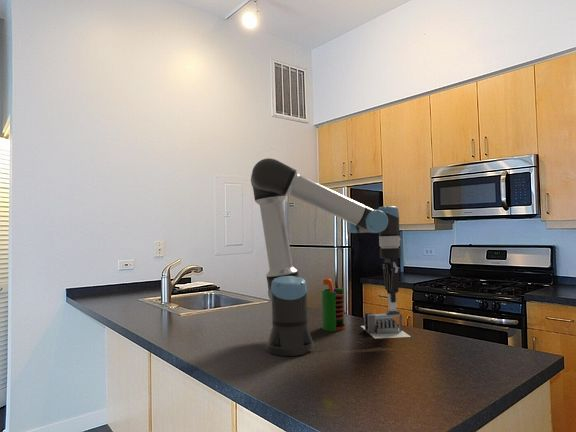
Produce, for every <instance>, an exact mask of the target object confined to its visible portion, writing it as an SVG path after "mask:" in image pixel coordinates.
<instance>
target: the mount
mask: <svg viewBox="0 0 576 432" xmlns="http://www.w3.org/2000/svg"><path fill="white" fill-rule="evenodd" d="M367 314H370V315H368V318H367V316H366V315H367ZM363 319H364V326H365V330H364V331H365V332H367V331H368V332H367V333H368V334H369V335H370V334H371V333H375V315H373V314H372V313H371V312H364V318H363ZM398 328H399V330H400V331H403V315H402V313H400V316H399V317H398Z"/></svg>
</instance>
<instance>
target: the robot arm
mask: <svg viewBox="0 0 576 432" xmlns="http://www.w3.org/2000/svg"><path fill="white" fill-rule="evenodd" d="M250 183H251V187H252V190H253V197H254V198H253V199H254V203H256V204H257V205H259V208H260V215H261V222H262V227H263V234H264V235H263V236H264V241H265V248H266V254H267V255H266V256H267V262H268V268H269V270H268V272H267V274H266V282H267V289H268V291H267V293H268V298H269V300H270V302H271V324H272V325H271V329H270V334H269V337H268V341H267V352H269V353H270V354H272V355H275V356H281V357H282V356H283V357H293V356H295V357H296V356H303V355H306V354H310V353H312V349H313V348H314V341H313V338H312V336H311V332H310V329H309V326H308V303H307V302H308V300H307V299H308V298H307V292H308V287H307V281H306V280H305V279H304V278H303V277H299V270H298V269H297V268H295V266H294V265H293V259H292V253H291V251H292V250H291V246H290V238H289V232H288V227H287V221H286V213H285V208H284V200H285V199H286V198H287V196H291V197H294V198H295V199H296V200H297V199H298V200H300V201H301V202H304V203H306V204H308V205H311V207H315V208H317V209H320V210H321V211H324V212H326V213H328V214H331V216H332V215H333V216H335V217H337V218H339V219H341V220H344V221H346V228H347V231H348V232H349V233H351V234H352V233H353V234H358V233H359V234H362V233H371V234H378V239H379V240H378V244H379V247H380V248H379V258H381V259H384V263H383V264H381V265H382V266H381V268H382V272H383V279H384V289H385V291H386V292H387V305H388V306H387V307H388V309H387V311H398V309H397V293H399V284H400V283H399V282H400V272H401V268H400V267H399V266H398V262H397V259H400V258H401V256H402V255H401V248H400V246H401V240H402V238H400V212H399V208H398V207H397V206H394V205H392V206H391V205H389V206H388V205H387V206H380V207H378V208H377V209H373V208H371V207H369V206H367V205H365V204H363V203H360V202H358V201H357V200H354V199H352V198H350V197H347V196H345V195H343V194H342V193H339V192H338V191H335V190H332V189H330V188H329V187H326V186H324V185H322V184H320V183H317V182H316V181H313V180H311V179H309V178H307V177H306V176H305V177H304V176H303V175H301V174H299V172H298V170H297V169H295V168H293V167H291V166H289V165H287V164H285V163H283V162H281V161H279V160H277V159H274V158H263V159H261V160H259V161H257V162H256V163H255V165H254V166H253V168H252V171H251V175H250Z"/></svg>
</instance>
